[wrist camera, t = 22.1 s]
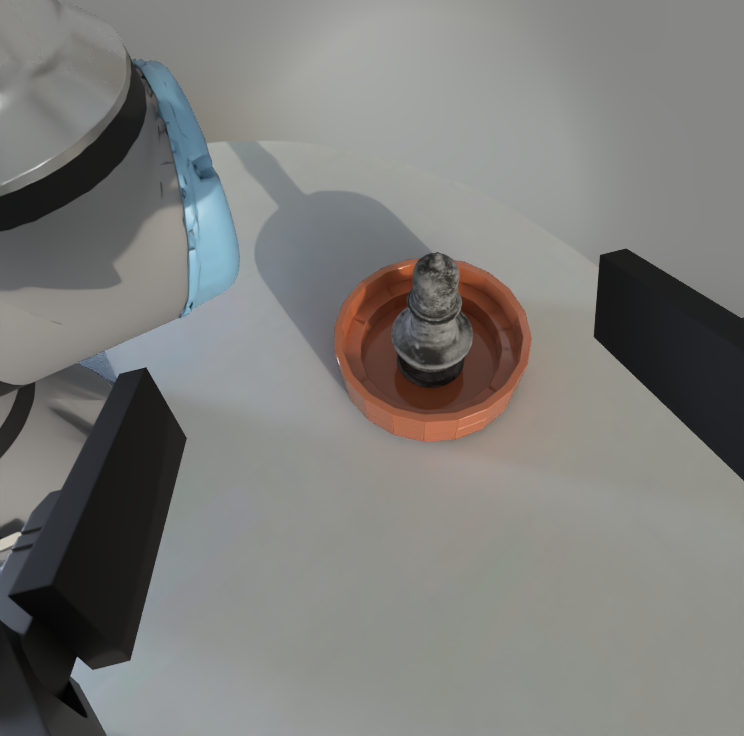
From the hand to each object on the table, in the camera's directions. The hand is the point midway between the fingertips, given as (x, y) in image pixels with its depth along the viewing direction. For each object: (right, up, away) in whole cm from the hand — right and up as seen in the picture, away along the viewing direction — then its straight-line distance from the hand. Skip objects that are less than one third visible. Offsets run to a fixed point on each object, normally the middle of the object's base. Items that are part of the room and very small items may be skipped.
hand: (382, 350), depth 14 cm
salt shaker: (+4, 0, +24) cm, 25 cm away
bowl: (+4, 0, +25) cm, 25 cm away
